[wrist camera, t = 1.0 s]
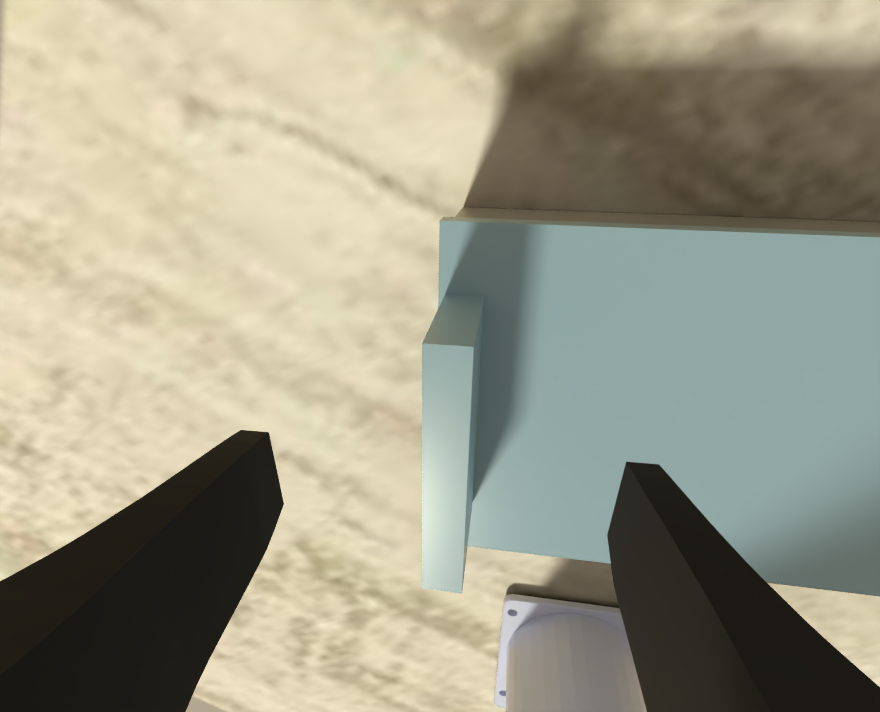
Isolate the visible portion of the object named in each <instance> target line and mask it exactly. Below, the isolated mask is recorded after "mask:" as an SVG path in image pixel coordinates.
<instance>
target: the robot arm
mask: <svg viewBox="0 0 880 712" xmlns="http://www.w3.org/2000/svg"><path fill="white" fill-rule="evenodd" d="M283 505H284V503H283V498H282V493H281V489H280V484H279V479H278V474H277V469H276V465H275V460H274V455H273V450H272V446H271V441H270V436H269V432H258V431H245V430H240V431H239V432H237V433H236V434H234V435H232V436H231V437H229V438H228V439H226V440H225V441H223V442H222V443H220V444H219V445H217V446H216V447H214V448H213V449H212V450H210V451H209V452H207V453H206V454H204V455H203V456H202V457H200V458H199V459H197V460H196V461H194V462H193V463H191V464H190V465H189V466H187V467H186V468H184V469H183V470H181V471H180V472H178V473H177V474H176V475H174V476H173V477H171V478H170V479H168V480H167V481H165V482H164V483H162V484H161V485H159V486H158V487H157V488H155V489H154V490H152V491H151V492H149V493H148V494H146V495H145V496H143V497H142V498H140V499H139V500H137V501H136V502H134V503H132V504H131V505H129V506H128V507H126V508H125V509H123V510H121V511H120V512H118V513H117V514H115V515H114V516H112V517H110V518H109V519H107V520H106V521H104V522H103V523H101V524H99V525H98V526H96V527H95V528H93V529H92V530H90V531H88V532H87V533H85V534H84V535H82V536H80V537H79V538H77V539H75V540H74V541H72V542H70V543H69V544H67V545H65V546H63V547H62V548H60V549H58V550H56V551H55V552H53V553H51V554H50V555H48V556H46V557H44V558H42V559H41V560H39V561H37V562H35V563H33V564H31V565H30V566H28V567H26V568H24V569H22V570H21V571H19V572H17V573H15V574H13V575H11V576H10V577H8V578H6V579H4V580H2V581H0V712H185V711H186V709H187V707H188V704H189V702H190V699H191V697H192V695H193V692H194V690H195V688H196V685H197V683H198V681H199V679H200V677H201V675H202V673H203V671H204V669H205V667H206V665H207V663H208V660H209V658H210V657H211V655H212V653H213V651H214V649H215V647H216V645H217V643H218V641H219V640H220V638H221V636H222V634H223V632H224V630H225V628H226V626H227V624H228V623H229V621H230V619H231V617H232V615H233V613H234V611H235V609H236V607H237V606H238V604H239V602H240V600H241V598H242V596H243V594H244V592H245V590H246V589H247V587H248V585H249V583H250V581H251V579H252V577H253V575H254V573H255V571H256V569H257V567H258V565H259V564H260V562H261V560H262V558H263V556H264V554H265V552H266V550H267V547H268V545H269V542H270V540H271V537H272V535H273V532H274V529H275V527H276V524H277V521H278V518H279V516H280V513H281V510H282V507H283ZM607 538H608V545H609V553H610V561H611V568H612V574H613V581H614V587H615V591H616V595H617V599H618V603H619V607H620V608H615V607H607V606H600V605H592V604H585V603H577V602H570V601H562V600H554V599H547V598H539V597H532V596H524V595H517V594H510V595H507V596H506V597H505V598H504V604H503V614H502V624H501V634H500V644H499V654H498V664H497V674H496V684H495V694H494V703H495V705H496V706H498V707H500V708H505V709H506V712H880V687H879V686H877V685H876V684H875V683H874V682H873V681H872V680H871V679H870V678H868V677H867V676H866V675H865V674H864V673H863V672H862V671H860V670H859V669H858V668H857V667H856V666H855V665H854V664H853V663H851V662H850V661H849V660H848V659H847V658H846V657H845V656H844V655H842V654H841V653H840V652H839V651H838V650H837V649H836V648H834V647H833V646H832V645H831V644H830V643H829V642H828V641H827V640H826V639H824V638H823V637H822V636H821V635H820V634H819V633H818V632H817V631H816V630H815V629H814V628H813V627H812V626H810V625H809V624H808V623H807V622H806V621H805V620H804V619H803V618H802V617H801V616H800V615H799V614H798V613H797V612H796V611H795V610H794V609H793V608H792V607H791V606H790V605H789V604H788V603H787V602H786V601H785V600H784V599H783V598H782V597H781V596H780V595H779V594H778V593H777V592H776V591H775V590H774V589H773V588H771V587H770V586H769V585H768V584H767V583H766V582H765V581H764V579H763V578H762V577H761V576H760V575H759V574H758V573H757V572H756V571H755V570H754V569H753V568H752V567H751V566H750V565H749V564H748V563H747V562H746V561H745V560H744V559H743V558H742V557H741V556H740V554H739V553H738V552H737V551H736V550H735V549H734V548H733V547H732V546H731V545H730V544H729V543H728V542H727V541H726V539H725V538H724V537H723V536H722V535H721V534H720V533H719V532H718V531H717V530H716V528H715V527H714V526H713V525H712V524H711V523H710V522H709V521H708V520H707V518H706V517H705V516H704V515H703V514H702V513H701V512H700V510H699V509H698V508H697V507H696V506H695V505H694V504H693V503H692V501H691V500H690V499H689V498H688V497H687V496H686V495H685V493H684V492H683V491H682V490H681V489H680V488H679V486H678V485H677V484H676V483H675V482H674V481H673V480H672V478H671V477H670V476H669V475H668V474H667V473H666V472H665V470H664V469H663V468H662V467H661V466H660V465H659V464H649V463H637V462H626V464H625V468H624V472H623V476H622V480H621V483H620V487H619V491H618V495H617V499H616V503H615V507H614V511H613V514H612V518H611V522H610V526H609V530H608V534H607ZM511 609H513V610H511Z"/></svg>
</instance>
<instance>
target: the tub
mask: <svg viewBox="0 0 880 712" xmlns="http://www.w3.org/2000/svg"><path fill="white" fill-rule="evenodd" d="M456 217H462V218H489V219H516V220H543V221H570V222H597V223H624V224H651V225H679V226H706V227H733V228H760V229H787V230H814V231H841V232H868V233H880V222H877V221H847V220H818V219H789V218H760V217H731V216H702V215H672V214H643V213H614V212H585V211H556V210H527V209H497V208H468V207H463V208H462V209H461V210H460V212H459V213H458V214H457V215H456Z"/></svg>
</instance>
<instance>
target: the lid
mask: <svg viewBox="0 0 880 712" xmlns="http://www.w3.org/2000/svg"><path fill="white" fill-rule="evenodd" d="M626 462H637V463H649V464H659V465H660V466H661V467H662V468H663V469H664V470H665V472H666V473H667V474H668V475H669V476H670V477H671V478H672V480H673V481H674V482H675V483H676V484H677V485H678V486H679V488H680V489H681V490H682V491H683V492H684V493H685V495H686V496H687V497H688V498H689V499H690V500H691V501H692V503H693V504H694V505H695V506H696V507H697V508H698V509H699V510H700V512H701V513H702V514H703V515H704V516H705V517H706V518H707V520H708V521H709V522H710V523H711V524H712V525H713V526H714V527H715V528H716V530H717V531H718V532H719V533H720V534H721V535H722V536H723V537H724V538H725V539H726V541H727V542H728V543H729V544H730V545H731V546H732V547H733V548H734V549H735V550H736V551H737V552H738V553H739V554H740V556H741V557H742V558H743V559H744V560H745V561H746V562H747V563H748V564H749V565H750V566H751V567H752V568H753V569H754V570H755V571H756V572H757V573H758V574H759V575H760V576H761V577H762V578H763V579H764V581H765V582H766V583H774V584H783V585H791V586H799V587H807V588H815V589H824V590H832V591H840V592H848V593H857V594H865V595H873V596H880V233H868V232H841V231H814V230H787V229H760V228H733V227H706V226H679V225H651V224H624V223H597V222H570V221H543V220H516V219H489V218H462V217H443V218H442V219H441V220H440V239H439V305H438V311H437V313H436V315H435V317H434V319H433V322H432V324H431V326H430V328H429V330H428V332H427V335H426V337H425V339H424V341H423V343H422V588H424V589H432V590H439V591H447V592H454V593H462V588H463V580H464V571H465V563H466V554H467V546H469V547H478V548H486V549H494V550H502V551H511V552H519V553H527V554H535V555H544V556H552V557H560V558H568V559H577V560H585V561H593V562H601V563H610V564H611V561H610V553H609V545H608V538H607V534H608V530H609V526H610V522H611V518H612V514H613V511H614V507H615V503H616V499H617V495H618V491H619V487H620V483H621V480H622V476H623V472H624V468H625V464H626Z"/></svg>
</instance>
